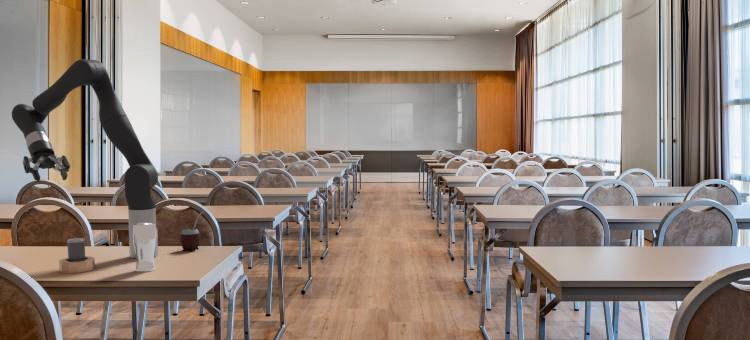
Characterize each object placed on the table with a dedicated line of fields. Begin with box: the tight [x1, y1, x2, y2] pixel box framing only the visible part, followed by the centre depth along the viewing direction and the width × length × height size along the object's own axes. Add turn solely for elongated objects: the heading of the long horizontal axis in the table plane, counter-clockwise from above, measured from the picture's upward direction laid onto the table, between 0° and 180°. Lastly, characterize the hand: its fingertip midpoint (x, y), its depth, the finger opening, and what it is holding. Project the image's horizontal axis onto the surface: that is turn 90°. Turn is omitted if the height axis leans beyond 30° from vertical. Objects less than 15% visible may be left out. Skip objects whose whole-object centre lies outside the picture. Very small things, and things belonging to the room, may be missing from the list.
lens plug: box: [67, 237, 86, 261], centre depth 200 cm, size 5×5×10 cm
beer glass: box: [133, 222, 157, 273], centre depth 198 cm, size 7×7×15 cm
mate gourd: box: [180, 210, 205, 252], centre depth 234 cm, size 8×8×15 cm
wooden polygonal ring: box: [58, 255, 96, 274], centre depth 200 cm, size 10×10×4 cm
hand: (52, 179), depth 215 cm, fingers open, 8 cm apart
